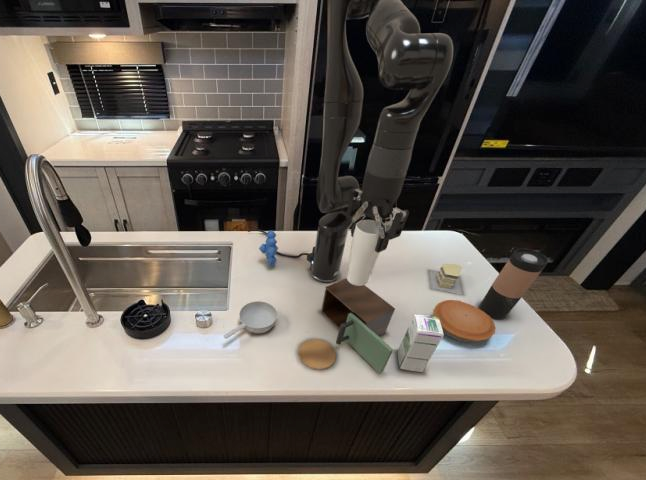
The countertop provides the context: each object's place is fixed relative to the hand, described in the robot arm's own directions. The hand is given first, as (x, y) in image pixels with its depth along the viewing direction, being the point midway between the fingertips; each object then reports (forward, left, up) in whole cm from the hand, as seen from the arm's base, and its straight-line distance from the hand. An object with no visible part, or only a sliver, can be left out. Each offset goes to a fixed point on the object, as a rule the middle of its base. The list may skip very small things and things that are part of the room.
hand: (366, 243), depth 72 cm
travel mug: (+18, +43, -28) cm, 54 cm away
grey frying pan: (-13, -24, -28) cm, 39 cm away
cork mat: (+4, -13, -28) cm, 31 cm away
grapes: (-38, -2, -28) cm, 47 cm away
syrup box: (+18, +6, -28) cm, 34 cm away
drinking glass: (0, 0, -11) cm, 11 cm away
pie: (+17, +28, -28) cm, 43 cm away
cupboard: (0, +3, -28) cm, 28 cm away
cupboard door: (+10, -5, -27) cm, 30 cm away
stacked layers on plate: (+2, +43, -28) cm, 52 cm away
